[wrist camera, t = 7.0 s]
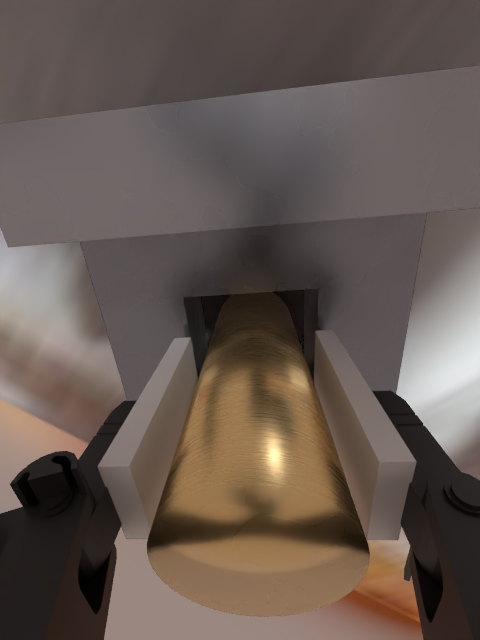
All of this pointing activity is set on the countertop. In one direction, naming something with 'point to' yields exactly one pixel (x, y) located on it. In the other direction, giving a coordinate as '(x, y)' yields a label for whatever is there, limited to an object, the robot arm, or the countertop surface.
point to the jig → (251, 207)
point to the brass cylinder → (257, 479)
